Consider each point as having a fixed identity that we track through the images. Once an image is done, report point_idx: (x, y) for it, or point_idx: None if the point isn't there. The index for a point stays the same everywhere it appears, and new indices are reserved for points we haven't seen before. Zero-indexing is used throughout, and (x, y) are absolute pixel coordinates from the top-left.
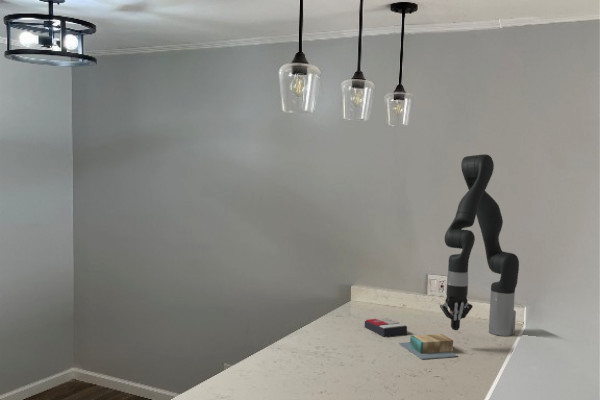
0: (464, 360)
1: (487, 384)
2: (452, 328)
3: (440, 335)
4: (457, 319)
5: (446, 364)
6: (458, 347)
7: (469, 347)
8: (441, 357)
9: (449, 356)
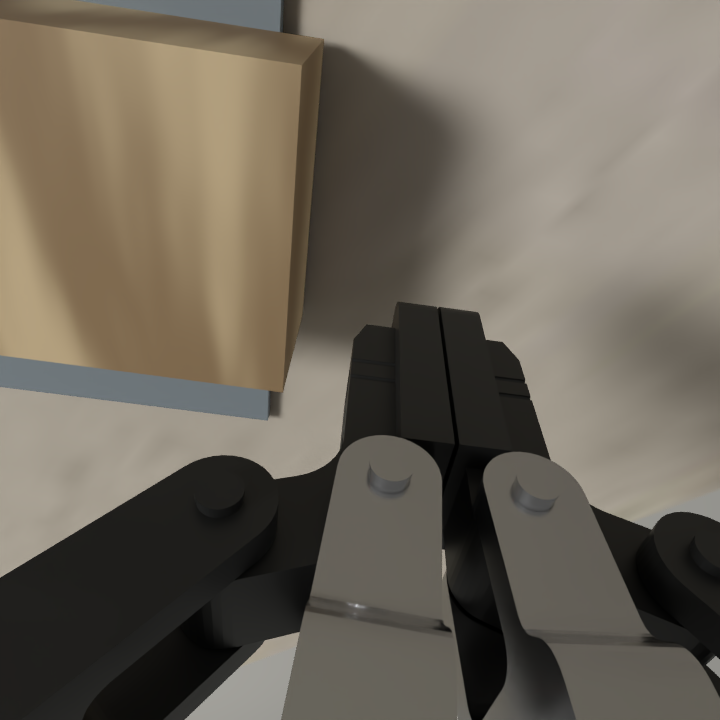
0: (277, 477)
1: None
2: (395, 319)
3: (222, 141)
4: (451, 553)
5: (90, 488)
6: (496, 194)
7: (624, 240)
8: (101, 397)
9: (184, 408)
